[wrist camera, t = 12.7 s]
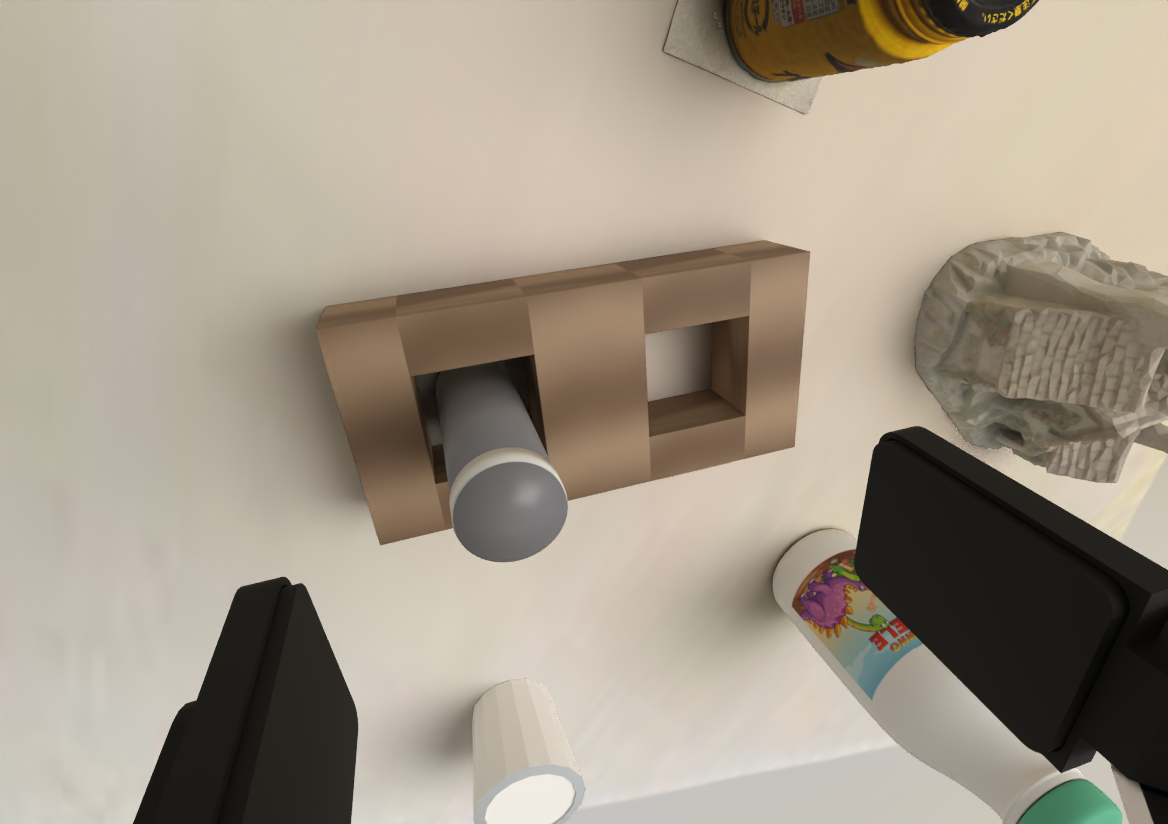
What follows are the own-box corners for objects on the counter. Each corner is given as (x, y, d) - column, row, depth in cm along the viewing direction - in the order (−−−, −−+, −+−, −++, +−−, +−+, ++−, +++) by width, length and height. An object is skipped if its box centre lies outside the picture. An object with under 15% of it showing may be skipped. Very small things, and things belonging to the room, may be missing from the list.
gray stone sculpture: (948, 222, 35) (1276, 294, 22) (1125, 236, 40) (1472, 300, 27) (864, 447, 42) (1077, 598, 29) (1024, 433, 47) (1263, 557, 34)
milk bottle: (862, 579, 46) (1145, 843, 29) (778, 623, 45) (1014, 921, 28) (851, 508, 42) (1167, 761, 25) (759, 555, 42) (1017, 849, 24)
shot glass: (509, 658, 39) (529, 752, 33) (578, 693, 42) (607, 785, 36) (442, 724, 40) (449, 829, 34) (514, 754, 43) (533, 854, 37)
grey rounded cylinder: (427, 360, 29) (441, 478, 19) (507, 346, 30) (562, 451, 20) (443, 431, 31) (463, 575, 21) (517, 416, 32) (574, 547, 21)
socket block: (326, 306, 27) (314, 329, 23) (765, 240, 32) (810, 251, 28) (384, 506, 32) (381, 549, 28) (756, 422, 37) (794, 451, 33)
